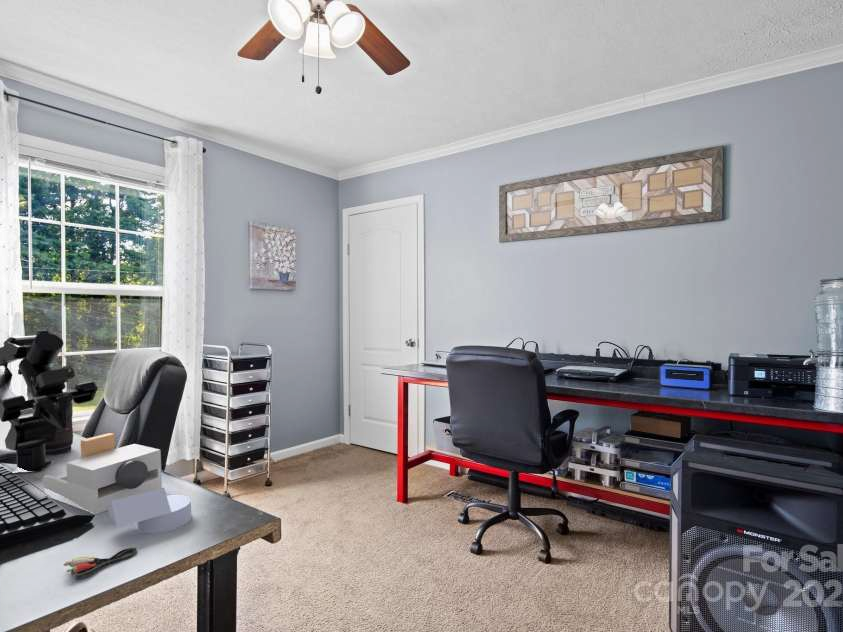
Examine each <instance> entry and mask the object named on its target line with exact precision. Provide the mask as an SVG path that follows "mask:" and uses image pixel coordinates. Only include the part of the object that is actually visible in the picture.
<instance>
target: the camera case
mask: <svg viewBox="0 0 843 632" xmlns="http://www.w3.org/2000/svg"><path fill="white" fill-rule="evenodd" d="M161 454H162V453H161V449H159V448H154V447H150V446H146V445H141V444H137V443H133V444H129V445H125V446H121V447H118V448H115V449H113V450H110V451H106V452H103V453H99V454H96V455H92V456H88V457H85V458H78V459H74V460H71V461H67V462H66V464H65V466H66V476H62V477H56V476H52V475H49V474H46V475H43V489H44V488H46V489H49V490H51V491H53V492H55V493H58V494H60V495H62V496H64V497H65V498H68V499H69V500H71V501H73V502H75V503H76V504H78V505H79V506H81V507H83V508H84V509H86V510H88V511H89V512H92V513H94V514H95V515H94V516H96V515H98V514H101V513H103V512H105V511H106V512H107V511H108V509H109V507H110V504H111V501H113V500H117V499H121V498H125V497H129V496H133V495H137V494H140V493H144V492H148V491H152V490H156V489H160V488H163V480H162V477H163V476H162V455H161ZM116 482H117V483H116ZM113 483H114V484H113ZM110 484H111V485H110ZM107 485H108V486H107ZM104 486H105V487H104ZM101 487H102V488H101ZM98 488H99V489H98Z"/></svg>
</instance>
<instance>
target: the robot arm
mask: <svg viewBox="0 0 843 632" xmlns="http://www.w3.org/2000/svg"><path fill="white" fill-rule="evenodd" d="M63 347H64V341H63V338H61V337H59V336H58V335H56V334H53V333H50V332H49V331H48V330H38V331H37V332H36V334H35V335H24V336H23V335H21V336H20V335H19V336H9V337H8V338H6V340H4V341H3V346H1V347H0V367H4V371H2V372H0V422H3V423H5V422H9V424H10V429H9V430H8V432H7V434H6V437H5V439H4V444H5V448H6V449H8V450H10V451H13V452H16V453H15V454H16V457H15V458H16V468H17V467H19V468H22V469H24V470H27V471H35V472H42V471H44V470H45V469H46V468H48V467H49V466H50V465H51V464H53V461H52V460H51V461H47V459H46V457H47V456H46V455H45V443H48V442H54V438H55V432H56V427H58V428H59V429H61V430H63V429H66V410H67V409H69V407H70V404H71V402H72V401H73V402H74V403H75V404H78V405H80V404H84V403H85V404H86V403H89V402H91V401H93V400H94V398H95V397H96V393H97V391H98V389H99V388H98V385H97V383H96V382H94V381H92V380H91V381H85V382H80V383H76V384H75V386H74V387H73V389H72V390H68V391H63V390H65V389H66V388H67V387H66V383H67V382H68V381H69V380H72V379H74V378H75V376H76V373H75V370H74V368H73V366H72V365H71V364H69V365H62V367H61V368H59V369H54V370H53V369H52V367H51V365H52V364H53V363H55V361H56V360H57V357H58V355H59V354H60V351H61V350H62V348H63ZM18 360H20V362H19V364H18V369H17V374H18V375H20V376H21V375H22V377H23V379H24V382H25V384H26V386H27V390H26V391H27V392H28V393H29V394H30V395H31V397H32V399H27V400H26V398H25V396H23V395H19V396H18V395H17V394H15V393H14V392H13V391H12V390H11V389H10V386H11V381H12V378H13V373H12V372H11V370H10V369H9V367H8V365H9V363H12V362H15V361H18ZM73 402H72V403H73ZM53 403H54V404H55V406H56V408H54V405H53ZM35 472H34V473H35Z"/></svg>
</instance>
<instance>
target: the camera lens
mask: <svg viewBox="0 0 843 632" xmlns="http://www.w3.org/2000/svg"><path fill="white" fill-rule="evenodd" d="M53 405H54V408H56V406H55V404H54V403H53ZM73 429H74V428H73V402H71V404H70V407H69V409H67V410H66V429H63V430H61V429H59V428H58V427H56V432H55V438H54V442H48V443H45V455H46V457H48V456H49V457H51V456H57V455H61V454H65V453H67V452H69V451H71V450H72V446H73V441H74V430H73Z"/></svg>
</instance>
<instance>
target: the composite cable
mask: <svg viewBox="0 0 843 632" xmlns="http://www.w3.org/2000/svg"><path fill="white" fill-rule="evenodd" d="M137 552H138V549H137V548H136V547H128V548H124V549H121V550H120V551H117V552H116V553H115V554H113V555H111V557H108V558H105V557H104V558H100V557H99V558H98V557H94V556H92V557H88V556H80V557H75V558H72V559H71V560H70V561H65V562H64V563H63V566H64V567H66V566H69V567H70V568H69V569H66V573H70V575H74V574H75V580H77V581H79V580H83V579H85V578H88V577H91V576H92V575H93V574H96V573H97V572H99V571H101V570H102V569H105V568H107V567H109V566H111V565H113V564H116V563H119V562H122V561H125V560H127V559H130V558H132V557H134V556H135V555H136V554H138V553H137Z"/></svg>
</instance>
